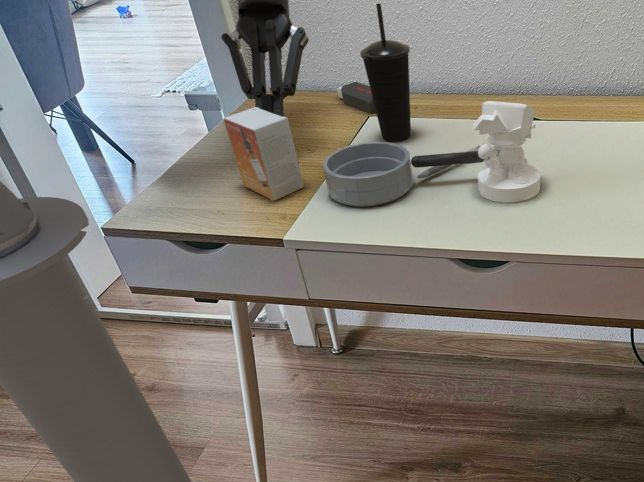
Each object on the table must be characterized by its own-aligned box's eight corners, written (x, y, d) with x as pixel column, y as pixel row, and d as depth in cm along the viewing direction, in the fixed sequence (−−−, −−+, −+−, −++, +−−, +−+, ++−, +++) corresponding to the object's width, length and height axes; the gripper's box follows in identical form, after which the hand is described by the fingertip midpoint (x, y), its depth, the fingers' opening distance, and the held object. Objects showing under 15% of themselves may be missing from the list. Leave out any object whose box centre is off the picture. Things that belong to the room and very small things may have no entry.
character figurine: (468, 197, 87) (462, 110, 79) (494, 168, 93) (491, 86, 86) (528, 206, 84) (528, 117, 76) (550, 176, 90) (553, 91, 82)
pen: (487, 152, 98) (486, 144, 97) (420, 184, 91) (419, 175, 90) (482, 151, 98) (482, 142, 98) (415, 182, 91) (414, 173, 91)
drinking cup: (398, 149, 101) (379, 12, 88) (364, 140, 105) (341, 7, 92) (428, 132, 106) (414, 0, 93) (395, 124, 109) (377, -4, 96)
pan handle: (411, 170, 89) (410, 159, 88) (411, 165, 90) (410, 154, 89) (486, 163, 89) (485, 153, 87) (485, 159, 90) (484, 148, 89)
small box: (243, 187, 94) (221, 117, 87) (275, 174, 97) (255, 105, 90) (273, 202, 90) (252, 129, 83) (305, 187, 93) (287, 116, 86)
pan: (324, 212, 86) (317, 181, 83) (334, 173, 96) (328, 145, 93) (412, 205, 86) (408, 174, 83) (413, 167, 96) (410, 138, 93)
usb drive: (371, 113, 114) (369, 98, 113) (334, 100, 121) (331, 85, 120) (393, 105, 117) (391, 90, 115) (356, 92, 124) (354, 78, 122)
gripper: (311, 3, 100) (320, 146, 98) (229, 10, 100) (237, 153, 98) (298, -29, 93) (308, 125, 91) (210, -21, 93) (218, 133, 91)
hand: (271, 139), depth 95 cm, fingers closed
